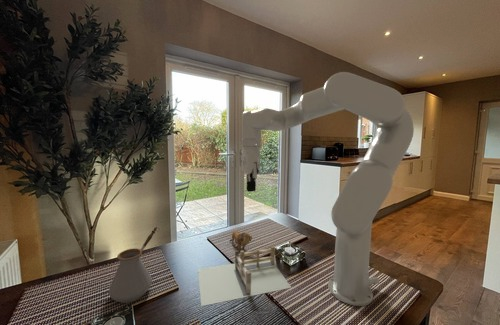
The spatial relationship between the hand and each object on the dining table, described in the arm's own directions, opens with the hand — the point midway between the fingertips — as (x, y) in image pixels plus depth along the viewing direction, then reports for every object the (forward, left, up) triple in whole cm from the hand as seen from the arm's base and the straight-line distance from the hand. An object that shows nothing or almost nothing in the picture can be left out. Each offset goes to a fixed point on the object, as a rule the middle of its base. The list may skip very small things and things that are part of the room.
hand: (251, 190), depth 84 cm
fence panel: (+7, +14, -26) cm, 31 cm away
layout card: (+7, +13, -27) cm, 31 cm away
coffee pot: (+39, +6, -27) cm, 48 cm away
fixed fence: (0, +8, -27) cm, 28 cm away
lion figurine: (+2, -8, -27) cm, 29 cm away
